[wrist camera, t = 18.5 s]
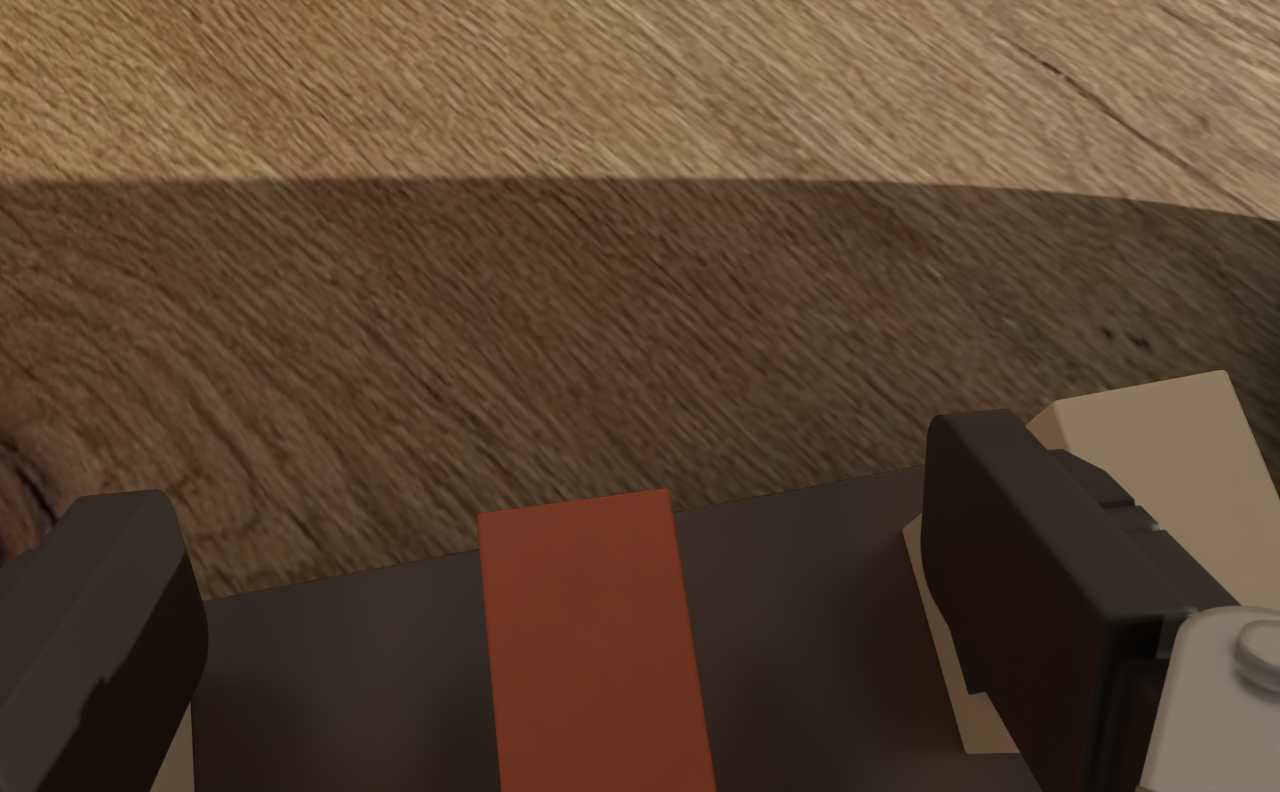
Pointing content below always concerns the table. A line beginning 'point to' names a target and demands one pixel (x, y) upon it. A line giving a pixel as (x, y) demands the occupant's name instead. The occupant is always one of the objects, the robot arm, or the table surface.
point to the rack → (723, 641)
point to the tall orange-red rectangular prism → (592, 648)
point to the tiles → (1142, 465)
